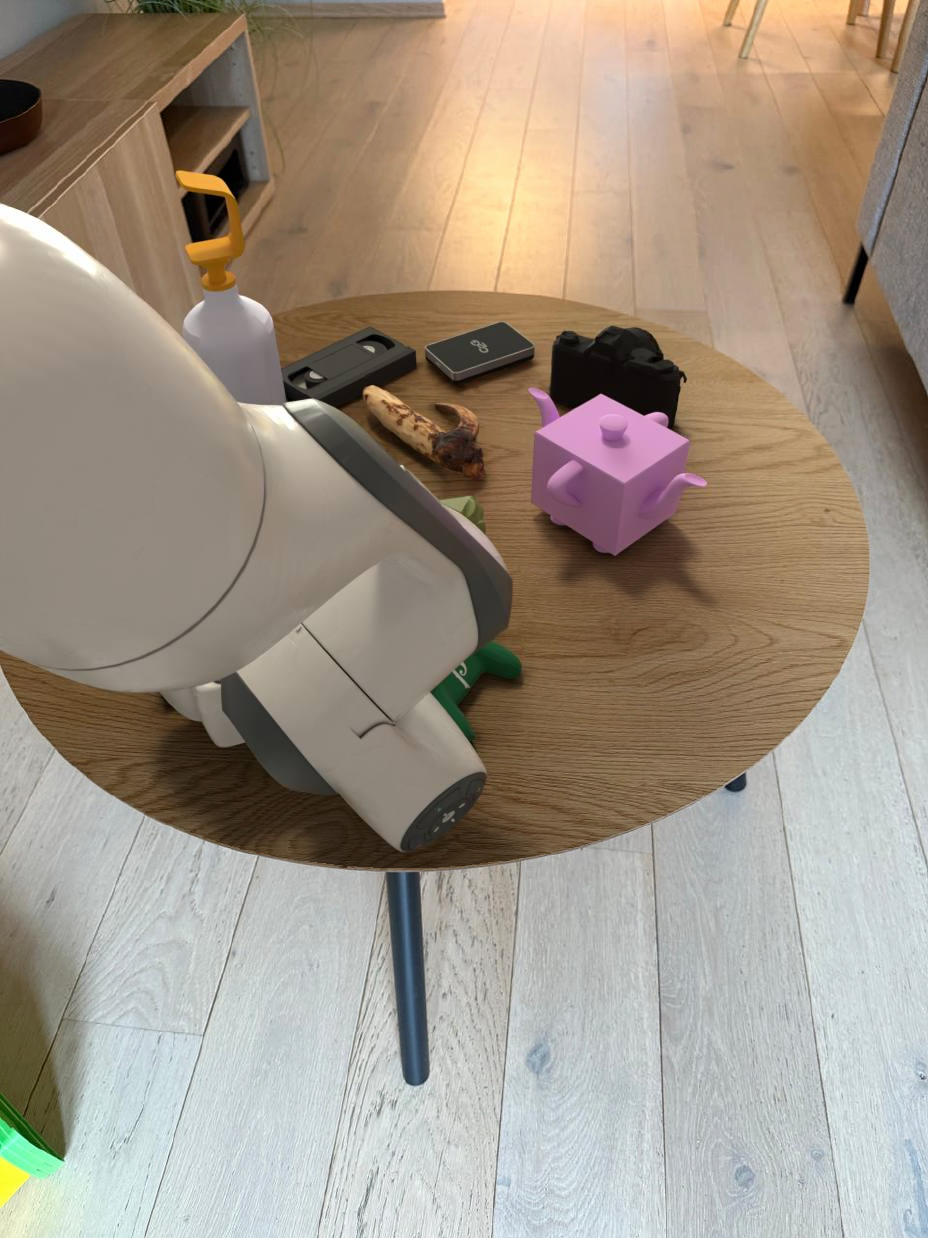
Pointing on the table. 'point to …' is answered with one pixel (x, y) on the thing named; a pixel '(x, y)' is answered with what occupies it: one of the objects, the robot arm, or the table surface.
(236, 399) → the soap bottle
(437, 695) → the gaming controller
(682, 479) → the teapot
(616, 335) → the film camera
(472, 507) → the green figurine
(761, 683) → the table surface
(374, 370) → the vhs tape
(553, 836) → the table surface
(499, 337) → the external hard drive
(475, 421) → the bone fish hook
